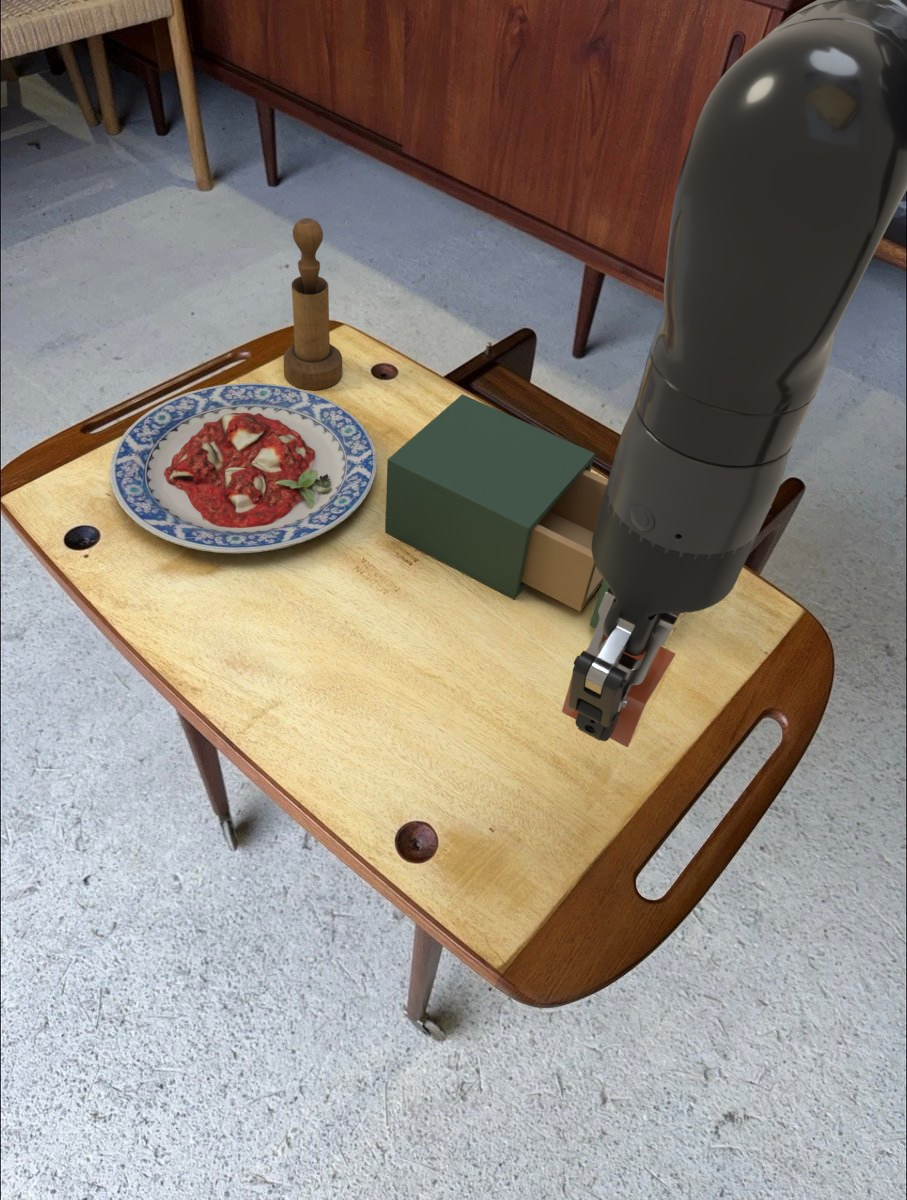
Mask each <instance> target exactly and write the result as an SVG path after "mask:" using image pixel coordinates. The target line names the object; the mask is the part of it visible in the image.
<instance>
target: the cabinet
mask: <svg viewBox="0 0 907 1200" xmlns="http://www.w3.org/2000/svg"><path fill="white" fill-rule="evenodd" d="M595 456H596V452H592V451H591V450H589V449H586V448H584V447H582V446H579V445H577V444H575V443H574V442H573V443H572V442H570V441H569V440H566V439H563V438H561V437H559V436H557V435H555V434H553V433H550V432H548V431H546V430H543V429H541V428H539V427H537V426H534V425H533V424H530V423H528V422H526V421H524V420H521V419H519V418H517V417H515V416H513V415H510V414H508V413H506V412H503V411H501V410H499V409H497V408H495V407H492V406H490V405H488V404H485V403H483V402H482V401H480V400H476V399H475V398H472V397H470V396H468V395H465V394H462V393H461V395H460V396H458V397H457V398H456V399H455V400H454V401H453V402H451V403H450V404H449V405H448V406H447V407H446V408H445V409H443V410H442V411H441V412H440V413H439V414H438V415H436V417H433V418H432V420H431V421H429V422H428V423H427V424H426V425H425V426H424V427H423V428H421V430H419V431H418V432H417V433H416V434H415V435H414V436H412V437H411V438H410V439H409V440H408V441H407V442H405V444H403V445H402V446H401V447H400V448H399V449H397V450H396V451H395V452H394V453H393V454H392V455H391V456H389V457H388V458H387V464H386V467H387V468H386V492H385V493H386V494H385V495H386V496H385V519H384V521H385V523H384V526H385V527H384V533H385V534H387V535H389V536H391V537H392V538H395V539H396V540H399V541H401V542H402V543H404V544H406V545H408V546H410V547H412V548H414V549H416V550H418V551H420V552H422V553H423V554H426V555H428V556H429V557H430V558H431V557H432V558H433V559H435V560H437V561H439V562H440V563H443V564H445V565H447V566H449V567H451V568H452V569H455V570H456V571H458V572H460V573H461V574H464V575H466V576H468V577H469V578H472V579H474V580H476V581H477V582H479V583H482V584H483V585H485V586H487V587H489V588H491V589H493V590H495V591H497V592H498V593H500V594H502V595H504V596H507V598H510V599H512V600H514V601H515V600H516V599H517V598H518V596H519V595H520V594H521V593H523V591H524V590H525V588H526V587H527V586H528V585H527V584H525V583H523V582H521V581H522V577H523V572H524V567H525V562H526V557H527V552H528V547H529V542H530V537H531V532H532V529H533V528H534V527H535V526H536V525H537V524H538V523H539V521H540V520H541V519H542V518H543V517H544V516H545V515H546V513H547V512H548V511H549V510H550V509H551V508H552V507H553V505H554V504H555V503H556V502H557V501H558V500H559V499H560V497H561V496H562V495H563V494H564V493H565V492H566V491H567V490H568V488H569V487H570V486H571V485H572V484H573V483H574V482H575V480H576V479H577V478H578V477H579V476H580V475H581V474H582V472H583V471H584V470H587V471H590V472H592V468H593V463H594V459H595Z"/></svg>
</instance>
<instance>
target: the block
mask: <svg viewBox="0 0 907 1200" xmlns="http://www.w3.org/2000/svg"><path fill="white" fill-rule="evenodd" d="M606 640H607V638H606ZM587 650H588V648H587V649H586V650H585V651H586V652H587ZM645 652H646V651H645ZM645 652H644V654H645ZM624 653H625V652H624ZM625 654H627V653H625ZM644 654H643V655H639V656H632V655H629V654H627V655H629V656H630V657H632V658H634V659H637V660H642V659H643V656H644ZM675 656H676V653H675V652H673V651H672V650H670V649H668V648H665V647H664V646H661V647H660V650H659V652H658V654H657V656H656V658H655V661H654V663H653V665H652V667H651V669H650V672H649V673H648V675H647V676H646V677H645V679H644V680H643V682H642V683H641V684H639V685H633V687H632V689H631V691H630V694H629V696H628V698H627V700H629V701H628V703H627V705H626V707H625V708H622V710H621V712H620V715H619V718H618V720H617V723H616V725H615V728H614V731H613V733H612V734H611V736H610V738H609V739H610V740H612V741H614V742H616V743H618V744H620V745H622V746H624V747H626V748H629V747H630V745H631V743H632V741H633V740H634V738H635V736H636V734H637V733H638V731H639V729H640V728H641V726H642V724H643V723H644V721H645V719H646V718H647V716H648V714H649V712H650V710H651V709H652V707H653V706H654V704H655V703H656V701H657V699H658V696H659V694H660V692H661V689H662V687H663V685H664V683H665V680H666V677H667V675H668V673H669V670H670V668H671V665H672V664H673V661H674V658H675ZM571 681H572V677H571V678H570V682H569V684H568V688H567V691H566V694H565V698H564V702H563V705H562V709H561V713H563V714H565V715H566V716H568V717H570V718H571V719H574V720H575V721H576V718H577V715H578V712H577V710H576V711H575V710H574V709H572V708H570V707H568V705H569V697H570V689H571Z"/></svg>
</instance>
